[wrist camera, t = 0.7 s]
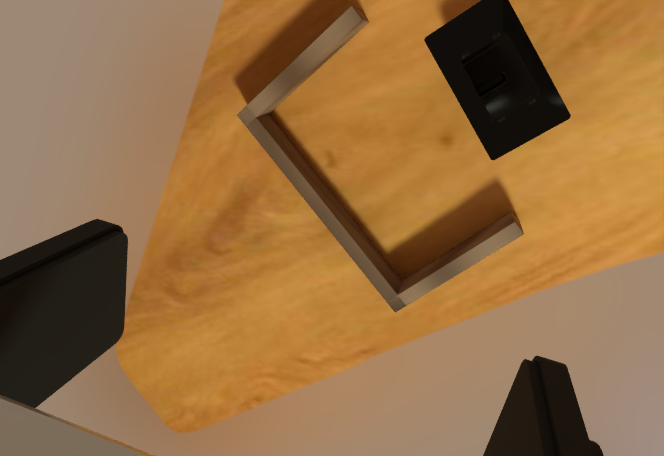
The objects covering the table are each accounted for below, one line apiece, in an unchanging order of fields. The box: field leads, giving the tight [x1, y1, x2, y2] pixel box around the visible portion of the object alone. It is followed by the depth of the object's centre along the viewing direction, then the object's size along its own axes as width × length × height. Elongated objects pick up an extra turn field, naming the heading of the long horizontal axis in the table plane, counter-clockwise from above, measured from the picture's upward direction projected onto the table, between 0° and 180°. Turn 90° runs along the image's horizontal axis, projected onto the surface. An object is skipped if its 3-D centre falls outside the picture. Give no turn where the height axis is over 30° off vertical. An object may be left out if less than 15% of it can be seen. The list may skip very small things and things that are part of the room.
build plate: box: [425, 0, 571, 160], centre depth 30 cm, size 12×7×5 cm, turn 33°
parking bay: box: [237, 6, 524, 312], centre depth 34 cm, size 10×18×2 cm, turn 40°
